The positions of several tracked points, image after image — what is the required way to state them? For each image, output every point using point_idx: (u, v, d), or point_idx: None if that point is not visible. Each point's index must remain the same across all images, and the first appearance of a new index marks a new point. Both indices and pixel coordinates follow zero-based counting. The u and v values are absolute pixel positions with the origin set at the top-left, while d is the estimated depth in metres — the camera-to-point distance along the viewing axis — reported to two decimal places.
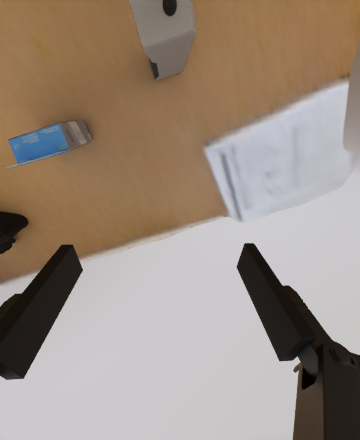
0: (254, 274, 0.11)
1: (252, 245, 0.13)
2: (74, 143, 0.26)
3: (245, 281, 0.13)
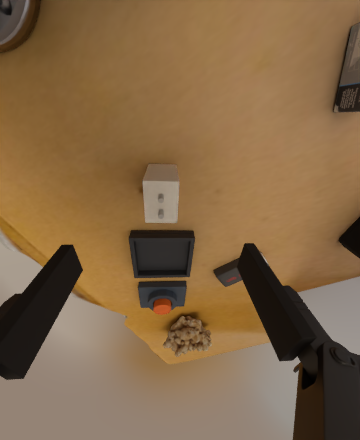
0: (254, 274, 0.11)
1: (252, 245, 0.13)
2: None
3: (245, 281, 0.13)
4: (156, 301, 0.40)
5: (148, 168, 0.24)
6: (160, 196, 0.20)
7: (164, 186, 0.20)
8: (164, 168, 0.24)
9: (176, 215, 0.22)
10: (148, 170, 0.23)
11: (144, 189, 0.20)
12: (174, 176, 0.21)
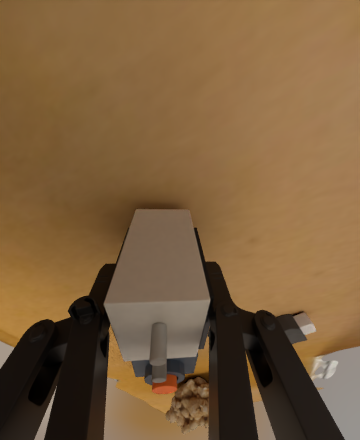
0: None
1: (194, 229, 0.14)
2: None
3: None
4: None
5: (132, 228, 0.11)
6: (158, 344, 0.07)
7: (167, 310, 0.07)
8: (166, 226, 0.11)
9: (196, 348, 0.09)
10: (130, 238, 0.10)
11: (112, 318, 0.07)
12: (193, 264, 0.09)
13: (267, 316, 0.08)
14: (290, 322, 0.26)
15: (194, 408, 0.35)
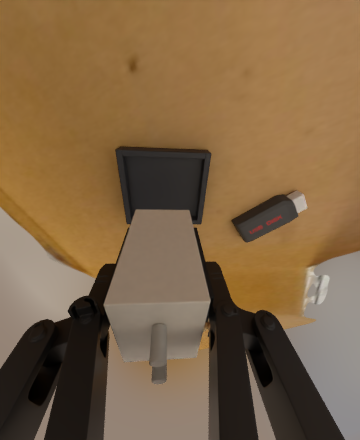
0: None
1: (194, 229, 0.14)
2: None
3: None
4: None
5: (131, 229, 0.11)
6: (158, 345, 0.07)
7: (167, 311, 0.07)
8: (166, 226, 0.11)
9: (196, 349, 0.09)
10: (130, 239, 0.10)
11: (112, 319, 0.07)
12: (193, 265, 0.08)
13: (267, 316, 0.08)
14: (283, 198, 0.28)
15: None
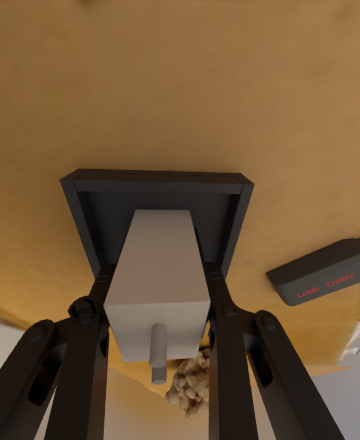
0: None
1: (194, 229, 0.14)
2: None
3: None
4: None
5: (131, 229, 0.11)
6: (158, 346, 0.07)
7: (167, 311, 0.07)
8: (166, 226, 0.11)
9: (196, 349, 0.09)
10: (130, 239, 0.10)
11: (112, 320, 0.07)
12: (193, 266, 0.08)
13: (268, 316, 0.08)
14: (357, 246, 0.17)
15: (203, 385, 0.26)
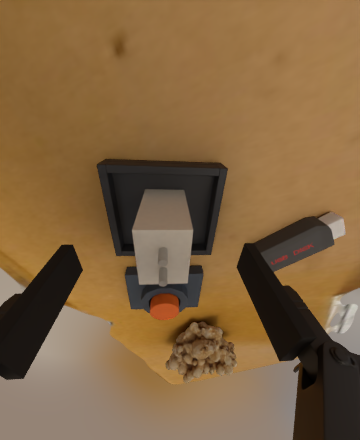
0: (254, 274, 0.11)
1: (252, 245, 0.13)
2: None
3: (245, 281, 0.13)
4: (154, 298, 0.25)
5: (143, 199, 0.16)
6: (162, 254, 0.12)
7: (168, 236, 0.12)
8: (167, 198, 0.16)
9: (186, 274, 0.14)
10: (143, 204, 0.15)
11: (135, 242, 0.12)
12: (184, 216, 0.14)
13: None
14: (315, 221, 0.22)
15: (198, 348, 0.31)
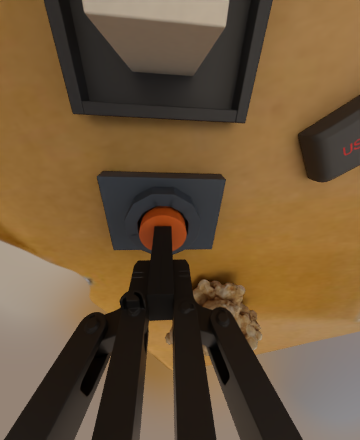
0: None
1: (169, 227, 0.14)
2: None
3: None
4: (147, 213, 0.15)
5: None
6: None
7: None
8: None
9: None
10: None
11: None
12: None
13: (222, 312, 0.08)
14: None
15: None
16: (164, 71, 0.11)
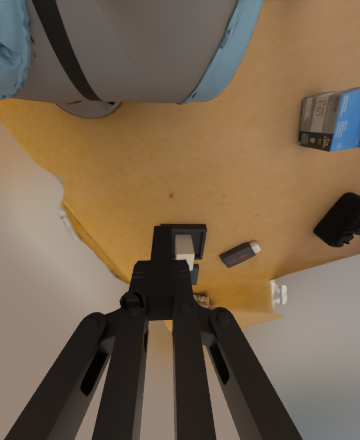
0: None
1: (169, 227, 0.14)
2: (357, 87, 0.26)
3: None
4: None
5: (176, 240, 0.44)
6: None
7: (187, 256, 0.41)
8: (185, 239, 0.45)
9: (192, 267, 0.43)
10: (177, 243, 0.44)
11: (177, 257, 0.41)
12: (191, 248, 0.42)
13: (222, 312, 0.08)
14: (247, 245, 0.51)
15: None
16: None
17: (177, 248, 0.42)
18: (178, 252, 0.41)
